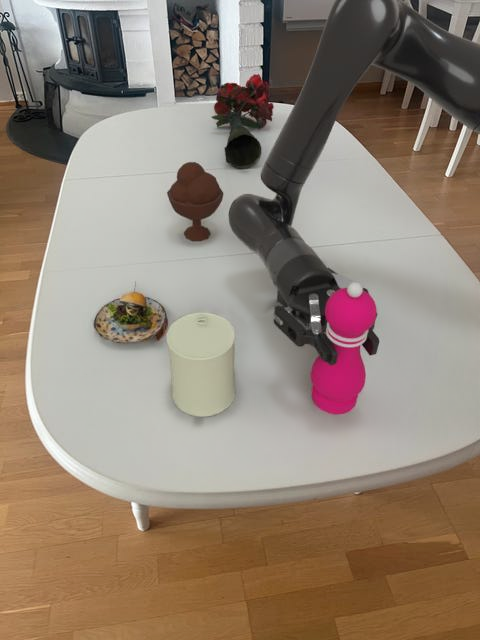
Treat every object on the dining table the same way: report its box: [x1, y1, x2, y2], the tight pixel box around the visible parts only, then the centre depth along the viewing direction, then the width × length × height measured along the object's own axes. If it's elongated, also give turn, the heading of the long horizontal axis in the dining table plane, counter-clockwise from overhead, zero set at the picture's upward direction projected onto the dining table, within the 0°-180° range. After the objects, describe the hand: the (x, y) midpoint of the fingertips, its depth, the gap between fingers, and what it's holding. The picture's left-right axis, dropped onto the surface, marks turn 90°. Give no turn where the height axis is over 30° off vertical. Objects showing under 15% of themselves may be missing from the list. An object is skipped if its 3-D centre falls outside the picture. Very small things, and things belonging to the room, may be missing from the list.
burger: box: [93, 281, 169, 344], centre depth 84 cm, size 12×12×8 cm
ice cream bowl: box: [166, 161, 225, 242], centre depth 103 cm, size 11×11×15 cm
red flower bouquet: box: [211, 73, 275, 170], centre depth 141 cm, size 16×18×35 cm
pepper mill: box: [310, 281, 378, 416], centre depth 66 cm, size 7×7×20 cm
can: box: [166, 312, 236, 418], centre depth 72 cm, size 9×9×12 cm
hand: (354, 354), depth 63 cm, fingers closed on pepper mill, 5 cm apart
